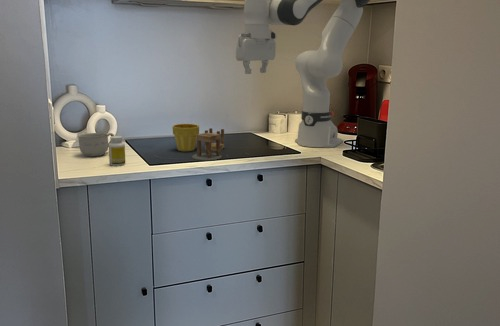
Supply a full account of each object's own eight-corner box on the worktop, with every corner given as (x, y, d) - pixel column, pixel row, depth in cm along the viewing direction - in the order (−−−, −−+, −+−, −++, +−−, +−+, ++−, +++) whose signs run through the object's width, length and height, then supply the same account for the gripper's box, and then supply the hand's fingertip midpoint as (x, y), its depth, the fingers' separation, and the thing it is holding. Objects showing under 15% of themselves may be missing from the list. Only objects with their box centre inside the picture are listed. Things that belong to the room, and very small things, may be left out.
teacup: (83, 159, 182) (82, 137, 180) (75, 153, 190) (74, 133, 188) (121, 155, 189) (120, 134, 187) (111, 150, 198) (110, 129, 196)
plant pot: (194, 153, 194) (194, 128, 192) (169, 151, 196) (168, 127, 194) (202, 147, 204) (202, 124, 202) (178, 146, 206) (177, 122, 204)
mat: (205, 152, 195) (205, 151, 195) (227, 156, 189) (227, 155, 189) (186, 157, 186) (186, 156, 186) (208, 162, 180) (208, 160, 180)
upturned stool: (210, 147, 205) (210, 128, 204) (224, 148, 204) (224, 129, 202) (204, 150, 200) (204, 130, 198) (219, 151, 198) (219, 131, 196)
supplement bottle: (128, 164, 175) (127, 136, 173) (115, 167, 171) (113, 138, 169) (119, 161, 179) (118, 134, 176) (106, 164, 175) (104, 136, 172)
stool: (207, 153, 192) (207, 132, 190) (219, 155, 189) (219, 134, 187) (197, 155, 188) (197, 134, 186) (209, 158, 184) (209, 136, 182)
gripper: (246, 33, 168) (246, 75, 171) (279, 34, 184) (278, 72, 187) (231, 33, 171) (231, 74, 175) (264, 34, 188) (264, 71, 191)
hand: (255, 73), depth 181 cm, fingers open, 8 cm apart
